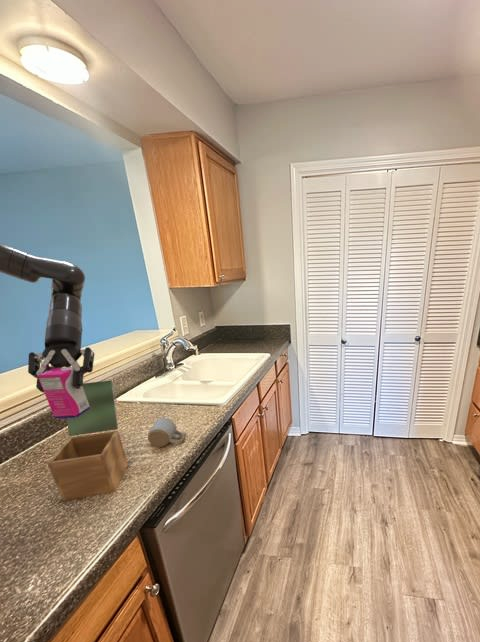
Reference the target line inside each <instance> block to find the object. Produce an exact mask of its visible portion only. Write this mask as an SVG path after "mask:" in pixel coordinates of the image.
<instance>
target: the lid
mask: <svg viewBox="0 0 480 642" xmlns="http://www.w3.org/2000/svg"><path fill="white" fill-rule="evenodd" d="M82 387H83V389H84V392H85V395H86V398H87V400H88V403H89V406H90V409H88V410H87V411H85V412H84V413H82V414H81V415H80V416H78V417H77V418H66V422H67V431H68V437H75V436H82V435H89V434H96V433H103V432H111V431H118V430H119V426H118V425H119V424H118V417H117V410H116V400H115V392H114V384H113V380H110V379H109V380H102V381H92V382H83V385H82Z"/></svg>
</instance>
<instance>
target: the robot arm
mask: <svg viewBox="0 0 480 642" xmlns="http://www.w3.org/2000/svg"><path fill="white" fill-rule="evenodd" d="M0 273H1V274H3V275H7V276H10V277H13V278H16V279H19V280H22V281H24V282H28V283H31V284H32V283H33V284H35V283H38V282H39V281H40V279H41V278H43V279H51V287H50V289H51V290H50V293H51V294H50V302H49V307H48V308H49V309H48V316H47V319H46V324H45V335H44V349H43V351H42V352H40V353H35V352H33V351H30V352H29V353H28V365H27V373H28V374H29V375H31V376H32V377H33V378H35V379H36V385H35V386H36V389H37V390H38V391H39V392H41V393H44V391H43V388H42V386H41V384H40V381H39V379H38V377H37V375H39V374H42V373H44V372H46V371H49V370H51V369H53V368H65V367H73V368H74V370H75V372H73V386H74V387H75V388H76V389H80V386H82V385H83V383H84V375H85V374H87V373H92V372H93V369H94V361H95V352H94V351H93V350H92V349H91V348H90V347H89V346H88V347H85V348H84V349H83V348H82V339H83V337H82V336H83V323H82V321H83V320H82V318H83V317H82V315H83V314H82V313H83V305H82V302H81V301H82V294H83V290H84V286H85V285H84V284H85V281H86V275H85V273H84V271H83V270H82V269H81V268H80V267H79V266H77V265H76V264H74V263H72V262H70V261H66V260H62V259H56V258H52V257H51V258H50V257H44V256H39V255H33V254H32V253H28V252H26V251H24V250H21V249H18V248H15V247H13V246H10V245H7V244H4V243H1V242H0ZM82 356H83V361H82V366H81V365H80V364H79V362H78V360H79V359H80V358H81V357H82ZM44 394H45V393H44Z"/></svg>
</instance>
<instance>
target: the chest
mask: <svg viewBox="0 0 480 642" xmlns="http://www.w3.org/2000/svg"><path fill="white" fill-rule="evenodd" d="M128 466H129V463H128V459H127V456H126V452H125V448H124V446H123V443H122V439H121V436H120V431H119V430H112V431H105V432H98V433H91V434H84V435H76V436H69V438H68V439H67V440H66V441H65V443H64V444H63V445H62V446H61V447H60V448H59V449H58V451H57V452H56V453H55V454H54V456H52V457H51V459H50V460H49V461H48V462H47V467H48V468H49V471H50V473H51V476H52V478H53V481H54V483H55V485H56V487H57V490H58V493H59V495H60V497H61V500H62V501H69V500H75V499H81V498H87V497H93V496H98V495H105V494H109V493H116V491H117V489H118V488H119V485H120V483H121V480H122V478H123V476H124V474H125V472H126V470H127V467H128Z"/></svg>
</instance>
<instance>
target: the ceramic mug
mask: <svg viewBox="0 0 480 642" xmlns="http://www.w3.org/2000/svg"><path fill="white" fill-rule="evenodd" d="M175 435H177V436H179V437H180V439H173V438H174V436H175ZM184 439H185V435H184V433H182V432H181V431H180V430H177V425H176V423H175V422H174V421H173V420H171V419H169V418H167V417H162V418H158V419H156V420H155V421H154V423H153V425H152V426H151V428H150V430H149V431H148V435H147V440H148V442H149V444H151V445H152V446H154V447H157V448H162V447H165V446H167V445H169V443H171V444H175V445H176V444H181V443H183V441H184Z"/></svg>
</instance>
